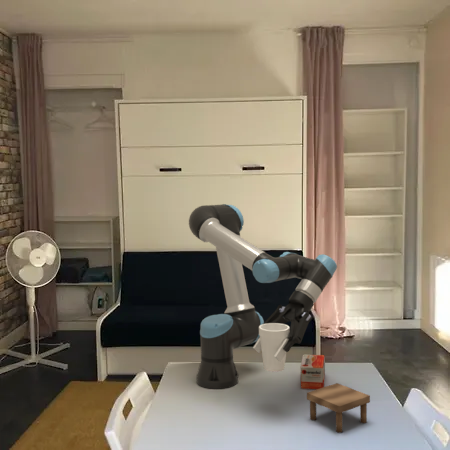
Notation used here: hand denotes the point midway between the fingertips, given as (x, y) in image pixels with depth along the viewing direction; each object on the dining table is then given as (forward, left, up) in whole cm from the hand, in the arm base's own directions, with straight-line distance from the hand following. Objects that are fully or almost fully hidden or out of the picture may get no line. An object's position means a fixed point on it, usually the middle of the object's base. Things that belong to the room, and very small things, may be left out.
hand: (266, 354), depth 165 cm
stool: (+16, +14, -19) cm, 28 cm away
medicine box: (-11, +31, -19) cm, 38 cm away
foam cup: (0, +3, -5) cm, 6 cm away
